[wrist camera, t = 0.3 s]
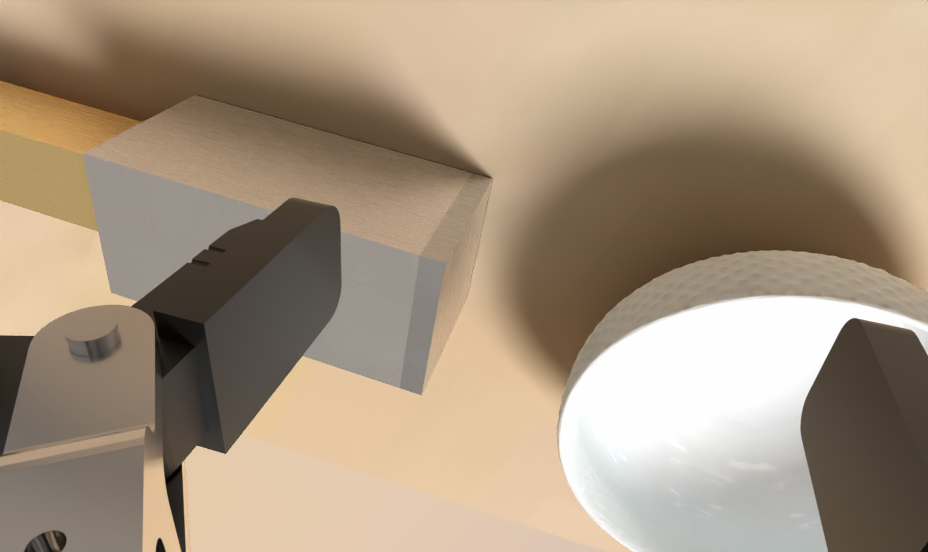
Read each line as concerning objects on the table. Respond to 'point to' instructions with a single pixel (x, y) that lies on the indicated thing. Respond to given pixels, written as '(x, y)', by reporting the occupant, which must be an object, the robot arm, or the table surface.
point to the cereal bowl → (715, 399)
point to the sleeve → (310, 178)
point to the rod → (51, 152)
